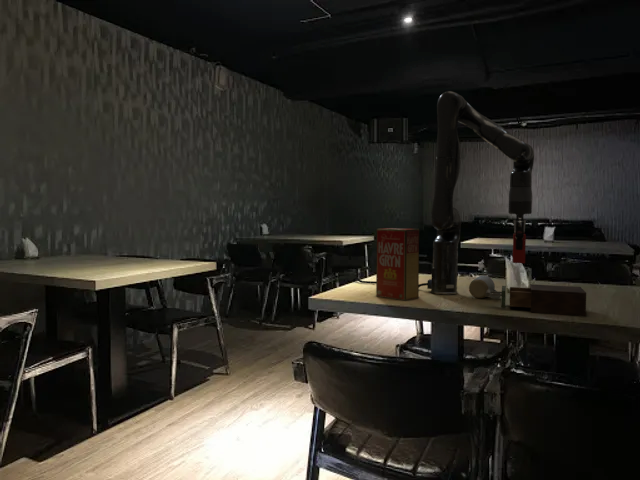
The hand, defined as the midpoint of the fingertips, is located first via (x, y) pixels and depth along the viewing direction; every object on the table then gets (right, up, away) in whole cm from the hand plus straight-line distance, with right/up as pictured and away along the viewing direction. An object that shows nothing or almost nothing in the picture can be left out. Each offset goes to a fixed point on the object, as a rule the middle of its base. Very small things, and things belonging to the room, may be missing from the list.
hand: (518, 249), depth 172 cm
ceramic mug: (-10, -18, +6) cm, 21 cm away
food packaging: (-42, -18, +7) cm, 46 cm away
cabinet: (+5, -19, -17) cm, 26 cm away
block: (0, -5, 0) cm, 5 cm away
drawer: (-6, -18, -12) cm, 23 cm away
